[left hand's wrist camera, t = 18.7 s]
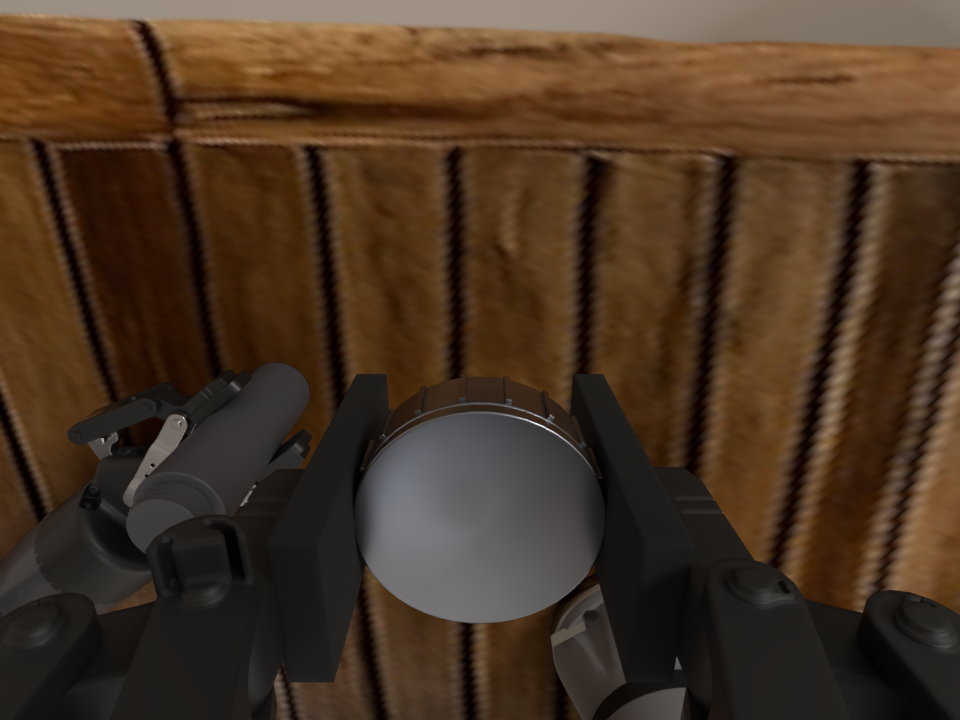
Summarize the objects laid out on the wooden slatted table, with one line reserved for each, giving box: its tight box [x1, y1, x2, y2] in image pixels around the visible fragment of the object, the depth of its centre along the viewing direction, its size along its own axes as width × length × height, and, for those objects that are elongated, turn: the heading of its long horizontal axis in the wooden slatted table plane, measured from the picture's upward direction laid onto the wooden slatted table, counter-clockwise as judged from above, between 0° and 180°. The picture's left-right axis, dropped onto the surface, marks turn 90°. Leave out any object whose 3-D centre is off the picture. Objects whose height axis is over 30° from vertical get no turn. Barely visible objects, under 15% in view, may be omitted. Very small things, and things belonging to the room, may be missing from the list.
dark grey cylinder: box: [126, 363, 310, 553], centre depth 33 cm, size 4×4×16 cm
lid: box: [353, 374, 607, 623], centre depth 11 cm, size 5×5×2 cm
